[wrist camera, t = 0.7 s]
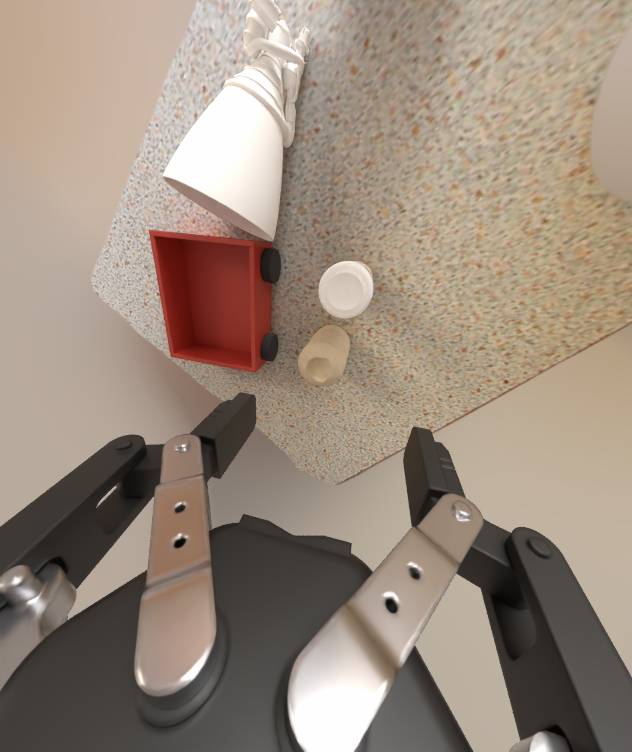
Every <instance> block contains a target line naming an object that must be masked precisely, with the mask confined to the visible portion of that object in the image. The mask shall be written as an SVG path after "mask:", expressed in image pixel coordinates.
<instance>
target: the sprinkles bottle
mask: <svg viewBox="0 0 632 752" xmlns="http://www.w3.org/2000/svg"><path fill="white" fill-rule="evenodd" d="M372 295H373V272H372V270H371V268H370V267H369V266H368V265H367V264H366V263H364V262H362V261H343V262H339V263H337V264H335V265H333V266H331V267H330V268H329V269H328V270H327V271H326V272H325V273H324V274H323V276H322V278H321V280H320V283H319V298H320V301H321V304H322V306H323V307H324V309H325V310H326V311H327V312H328V313H330V314H331V315H333V316H335V317H337V318H342V319H348V318H353V317H356V316H358V315H359V314H361V313H362V312H363V311H364V310H365V309H366V308H367V307H368V305H369V303H370V301H371V299H372Z"/></svg>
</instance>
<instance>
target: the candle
mask: <svg viewBox="0 0 632 752" xmlns="http://www.w3.org/2000/svg"><path fill="white" fill-rule="evenodd" d="M349 350H350V338H349V336H348V334H347V332H346V331H345V330H344V329H343V328H341V327H339V326H336V325H326V326H323V327H322V328H320V329H319V330H318V331H317V332H316V333H315V334H314V336H313V337H312V338H311V340H310V341H309V342H308V343H307V345H306V346H305V347H304V349H303V350H302V351H301V353H300V355H299V358H298V367H299V370H300V373H301V374H302V376H303V377H304V378H305V379H306V380H307V381H308V382H310V383H312V384H314V385H317V386H329V385H332V384H334V383H336V382H337V381H338V380H339V379H340V378H341V377H342V375H343V372H344V369H345V365H346V362H347V358H348V354H349Z"/></svg>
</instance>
